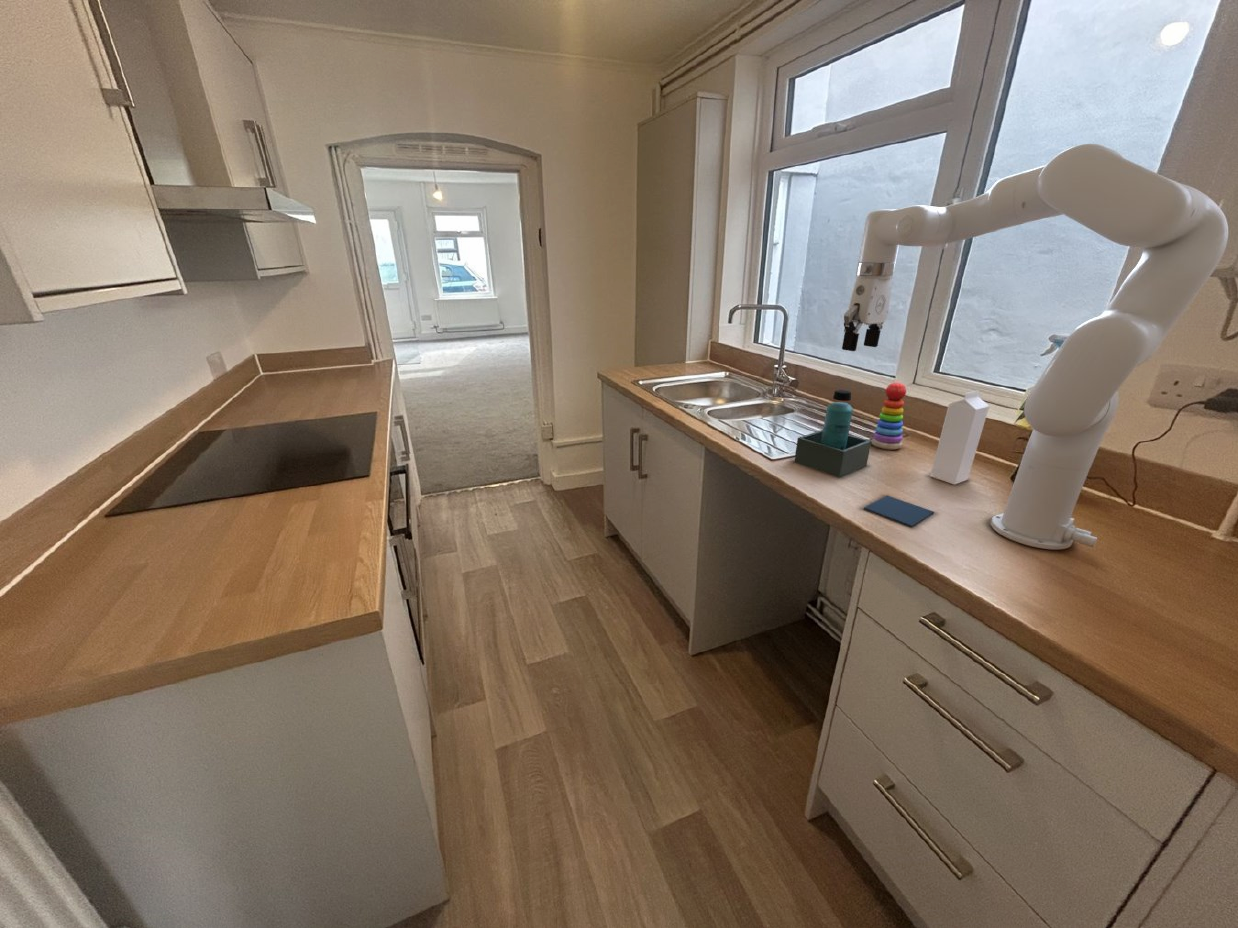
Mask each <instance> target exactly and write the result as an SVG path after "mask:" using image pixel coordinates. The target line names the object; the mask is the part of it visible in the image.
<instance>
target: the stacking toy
mask: <svg viewBox="0 0 1238 928" xmlns="http://www.w3.org/2000/svg"><path fill="white" fill-rule="evenodd" d="M906 394H907V387H906V386H905V385H904V384H903V383H901V382H891V383H890V384H889V385H888V386H887V387H886V389H885V396H886V399H884V401H883V406H882V408H881V412H880V413H879V419H878V420H877V425H876V426H875V432H873V435H872V436H873V438H872V439H871V441H872V442H871V445H873V446H874V447H876V448H879V449H883V450H889V451H890V450H893V451H894V450H898V449H901V447H903V442H902V441H903V437H904V436H903V432H904V430H903V428H902V427H904V423H903V419H904V415H903V413H904V408H903V407H904V405H905V402H904V400H903V398H904V397H905V396H906Z"/></svg>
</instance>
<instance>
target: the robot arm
mask: <svg viewBox="0 0 1238 928" xmlns="http://www.w3.org/2000/svg"><path fill="white" fill-rule="evenodd" d="M1059 216H1066V217H1067V218H1069V219H1071V220H1073V221H1075V222H1076V223H1078V224H1080V225H1081V226H1083V227H1086V228H1087V229H1089V230H1091V231H1093V232H1095V233H1096V234H1098V235H1100V236H1101V237H1103V238H1105V239H1107V240H1109V241H1111V242H1113V243H1116V244H1118V245H1121V246H1126V247H1131V248H1132V247H1133V248H1134V247H1135V248H1141V250H1142V253H1141V257H1140V259H1139V261H1138V262H1137V264H1136V265H1135V267H1134V268H1133V269H1132V270H1131V272H1130V273H1129V274H1128V275H1127V277H1126V278H1125V279H1124V281H1123V282H1122V283H1121V285H1120V287H1119V289H1118V291H1117V293H1115V295H1114V296H1113V298H1112V299H1111V300H1110V302H1109V304H1108V305H1107V307H1105V308H1104V310H1103V311H1102V313H1101V314H1100V315H1099V316H1095V317H1093V318H1091V319H1088V320H1086V321H1085V322H1082V324H1080V325H1078V326H1077V327H1076V328H1075V329H1073V330H1072V331H1071V333H1070V334H1069V335H1068V336H1067V337H1066V338H1065V340H1064V341H1063V342H1062V343H1061V345H1060V346H1059V348H1058V349H1057V351H1056V352H1055V354H1054V355H1053V357H1052V358H1051V360H1050V361H1049V363H1048V364H1047V366H1046V367H1045V369H1044V371H1042V373H1041V375H1040V376H1039V378H1038V380H1037V381H1036V383H1035V384H1034V386H1033V387H1032V389H1031V391H1030V392H1029V394H1028V396H1027V398H1026V400H1025V403H1024V409H1023V412H1024V418H1025V421H1026V422H1027V424H1028V425H1029V427H1031V428H1032V432H1031V434H1030V436H1029V439H1028V440H1027V444H1026V447H1025V450H1024V452H1023V455H1022V458H1021V461H1020V464H1019V466H1018V470H1017V473H1016V476H1015V478H1014V481H1013V485H1012V487H1011V490H1010V493H1009V497H1008V499H1007V502H1006V506H1005V508H1004V511H1003V512H1002V513H998V514H995V515H994V516H992V518H991V520H990V526H991V528H992V529H993V530H994V531H996V533H998V534H999V535H1001V536H1003V537H1005V538H1007V539H1008V540H1010V541H1014V542H1016V543H1019V544H1022V545H1024V546H1028V547H1033V548H1036V549H1037V548H1038V549H1044V550H1053V551H1055V550H1056V551H1057V550H1065V549H1068V548H1070V547H1071V546H1072V545H1073V543H1074V542H1076V543H1079V544H1081V545H1085V546H1087V547H1090V548H1094V547H1095V545H1096V543H1097V541H1098V537H1096V536H1094V535H1092V533H1093V532H1092V531H1090V530H1086V529H1081V528H1078V527H1076V525H1074V521H1075V518H1073V517H1072V514H1073V512H1074V510H1075V508H1076V505H1077V502H1078V499H1079V497H1080V494H1081V492H1082V490H1083V486H1084V484H1085V482H1086V480H1087V477H1088V474H1089V472H1090V470H1091V468H1092V466H1093V463H1094V461H1095V458H1096V455H1097V453H1098V451H1099V449H1100V446H1101V444H1102V441H1103V440H1104V437H1105V435H1106V434H1107V431H1108V430H1109V428H1110V426H1111V423H1112V422H1113V420H1114V417H1115V415H1116V413H1117V410H1118V407H1119V403H1120V395H1119V389H1120V388H1121V387H1122V385H1123V384H1124V382H1126V380H1127V379H1128V377H1129V376H1130V375H1131V373H1132V372H1133V371H1134V370H1135V368H1137V367H1139V366H1141V365H1143V364H1144V363H1146V362H1147V361H1149V360H1150V359H1151V358H1152V357H1154V355H1155V354H1156V352H1157V351H1158V349H1159V348H1160V346H1161V345H1162V343H1163V342H1164V341H1165V339H1166V337H1167V336H1168V335H1169V333H1170V332H1171V331H1172V329H1173V328H1174V327H1175V325H1176V324H1177V322H1178V321H1179V320H1180V319H1181V317H1182V316H1183V314H1184V313H1185V312H1186V311H1187V309H1188V308H1189V307H1190V305H1191V304H1192V302H1193V301H1194V299H1195V297H1196V296H1197V295H1198V294H1199V292H1200V291H1201V290H1202V288H1203V287H1204V285H1205V284H1206V283H1207V281H1208V280H1209V279H1210V277H1211V276H1212V274H1213V273H1214V272H1215V270H1216V269H1217V267H1218V265H1219V263H1220V261H1221V260H1222V257H1223V256H1224V254H1225V251H1226V249H1227V244H1228V240H1229V225H1228V220H1227V217H1226V215H1225V213H1224V212H1223V210H1222V209H1221V208H1220V206H1219V205H1218V204H1217V203H1216V202H1215V201H1214V200H1213V199H1212V198H1210V197H1209V196H1208V195H1206V194H1205V193H1204V192H1202V191H1200V190H1199V189H1198V188H1195V187H1193V186H1190V185H1187V184H1184V183H1181V182H1178V181H1176V180H1173V179H1170V178H1168V177H1165V176H1164V175H1162V174H1159V173H1157V172H1155V171H1152V170H1150V169H1148V168H1146V167H1145V166H1141V165H1139V164H1137V163H1135V162H1133V161H1130V160H1129V159H1126V158H1125V157H1123V156H1122V155H1121V154H1120V153H1119V152H1118V151H1116V150H1114V149H1112V148H1109V147H1106V146H1104V145H1102V144H1098V143H1082V144H1077V145H1074V146H1072V147H1070V148H1067V149H1065V150H1064V151H1061V152H1059V153H1058V154H1057V155H1056V156H1054V157H1052V159H1051V160H1050V161H1048V163H1047V164H1045V165H1041V166H1039V167H1035V168H1032V169H1029V170H1028V169H1027V170H1025V171H1022V172H1019V173H1015V174H1012V175H1009V176H1006V177H1005V176H1004V177H1002V178H1000V179H998V180H997V181H995V182H994V184H993V185H992V186H991V188H990V189H988V190H987V191H986V192H984V193H983V194H980V195H978V196H976V197H973V198H970V199H968V200H963V201H960V202H956V203H953V204H949V205H946V206H931V205H922V204H921V205H920V204H917V205H909V206H906V207H905V206H904V207H901V208H897V209H896V208H895V209H894V208H893V209H892V208H889V209H887V208H886V209H876V210H872V211H871V212H869V213H868V214H867V216H866V218H865V223H864V228H863V234H862V239H861V244H860V250H859V256H858V261H857V262H858V263H857V267H856V273H855V282H854V285H853V288H852V292H851V296H850V300H849V304H848V309H847V311H846V312H845V313H844V314H843V327H844V330H843V334H844V335H843V340H842V345H841V349H842V351H849V352H856V351H857V346H858V342H859V338H860V337H859V336H860V333H858V332H859V331H860V329H861V327H862V326H863V325H866V326H868V328H866V331H865V337H864V340H863V346H864V347H870V348H877V347H878V345H879V341H880V335H881V332H882V330H883V324H884V322H886V320H887V319H888V314H889V309H890V308H889V307H890V302H891V295H892V280H893V276H894V272H895V267H896V262H897V257H898V253H899V249H900V248H899V247H900V246H903V247H925V248H927V247H928V248H931V247H938V246H942V245H947V244H951V243H955V242H959V241H964V240H969V239H972V238H976V237H980V236H984V235H987V234H991V233H994V232H998V231H1001V230H1004V229H1008V228H1012V227H1016V226H1020V225H1025V224H1029V223H1033V222H1036V221H1041V220H1046V219H1050V218H1055V217H1059Z"/></svg>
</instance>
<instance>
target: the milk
mask: <svg viewBox="0 0 1238 928" xmlns="http://www.w3.org/2000/svg"><path fill="white" fill-rule="evenodd" d="M979 394H980V390H979V389H976V390H973V391H969V392H965V394H964V397H963V399H961V400H960V399H959V400H957V401H953V402H949V403H948V406H947V409H946V414H945V417H944V421H943V425H942V429H941V431H940V432H941V433H940V436H939V439H938V444H937V448H936V452H935V455H934V459H933V463H932V467H931V470H930V474H929V477H931V478H934V479H937V480H939V481H943V482H946V483H948V484H952V485H957V484H961V483H963V482H965V481H968V479H969V478H970V477H969V476H970V473H971V470H972V467H973V464H974V460H975V456H976V453H977V450H978V447H979V444H980V441H981V440H980V439H981V436H982V433H983V430H984V426H985V423H986V419H987V417H988V413H989V409H990V405H989V404H988V403H987V402H985V400H983V399H982V398H981V397H980V396H979Z"/></svg>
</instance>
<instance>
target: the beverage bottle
mask: <svg viewBox="0 0 1238 928" xmlns="http://www.w3.org/2000/svg"><path fill="white" fill-rule="evenodd" d="M832 399H833V400H835V401H833V402H831V403H830V404H828V405H827V406H826V412H825V418H824V424H823V428H822V430H823V431H822V432H823V433H822V435H821V436H822V438H821V444H824V445H827V446H830V447H834V448H837V449H840V450H845V449H846V446H847V445H846V443H847V441H848V440H847V439H848V435H849V432H850V429H851V422H852V417H853V412H854V408H853V407H852V406H851V404H849V403H847V402H850V401H851V400H852V391H850V390H846V389H836V390H834V393H833V397H832Z"/></svg>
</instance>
